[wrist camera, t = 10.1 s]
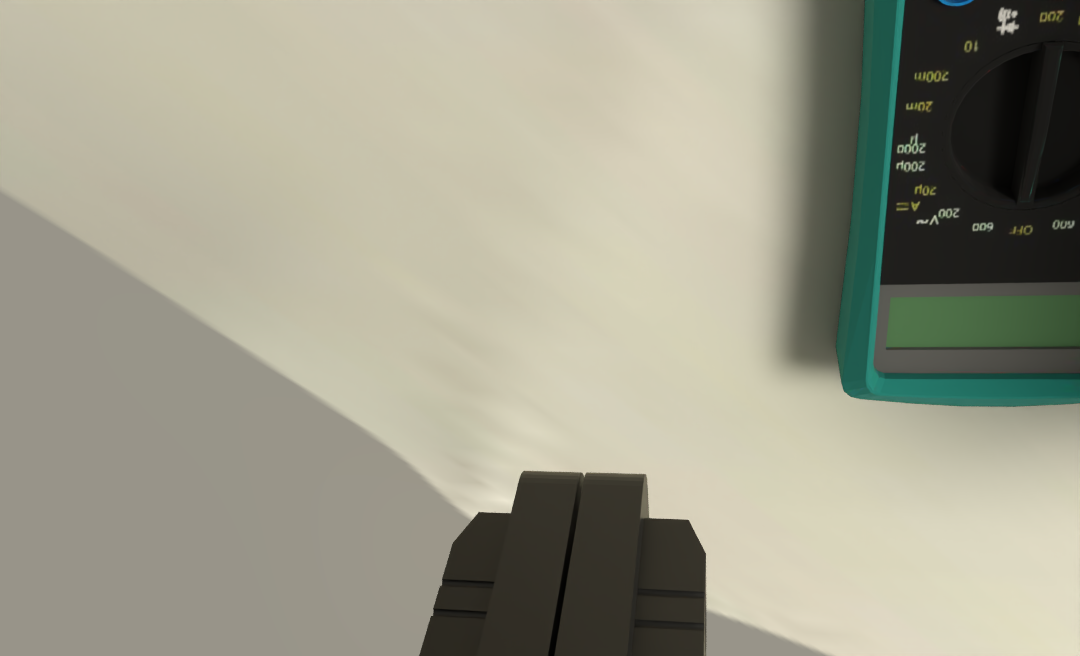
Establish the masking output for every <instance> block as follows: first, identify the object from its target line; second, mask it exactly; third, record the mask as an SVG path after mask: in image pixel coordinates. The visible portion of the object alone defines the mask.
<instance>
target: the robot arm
mask: <svg viewBox="0 0 1080 656" xmlns="http://www.w3.org/2000/svg"><path fill="white" fill-rule="evenodd" d="M433 609H434V613H433V616H431V618H430V622H429V625H428V628H427V632H426V635H425V639H424V642H423V645H422V648H421V652H420V655H419V656H706V553H705V551H704V549H703V547H702V545H701V543H700V541H699V539H698V538H697V536H696V534H695V532H694V530H693V528H692V526H691V524H690V522H689V520H679V519H652V518H649V507H648V487H647V477H646V474H619V473H586V474H585V477H584V475H583V473H576V472H543V471H523V472H522V474H521V476H520V479H519V483H518V487H517V491H516V495H515V499H514V503H513V507H512V512H511V513H485V512H479V513H478V514H477V515H476V516H475V517H474V519H473V520H472V521H471V522H470V523H469V525H468V526H467V527H466V528H465V529H464V531H463V532H462V533H461V534H460V535H459V536H458V538H457V539H456V540H455V541H454V542H453V544H452V548H451V551H450V554H449V558H448V561H447V565H446V568H445V572H444V575H443V578H442V586H440V588H439V591H438V595H437V598H436V602H435V605H434V608H433Z"/></svg>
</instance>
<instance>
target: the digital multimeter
mask: <svg viewBox="0 0 1080 656" xmlns="http://www.w3.org/2000/svg"><path fill="white" fill-rule="evenodd" d="M904 7H905V11H904ZM903 19H904V22H903ZM902 31H903V33H902ZM1066 41H1072V42H1066ZM1074 42H1077V43H1074ZM901 43H902V45H901ZM900 54H901V56H900ZM899 66H900V67H899ZM898 78H899V79H898ZM954 99H955V100H954ZM953 101H954V102H953ZM952 103H953V104H952ZM946 116H947V117H946ZM942 133H943V136H942ZM942 148H943V150H942ZM946 165H947V166H946ZM952 177H953V178H952ZM962 189H963V190H962ZM1079 194H1080V0H865V9H864V35H863V61H862V87H861V104H860V116H859V128H858V140H857V153H856V165H855V177H854V189H853V201H852V214H851V224H850V232H849V240H848V249H847V257H846V265H845V274H844V282H843V290H842V299H841V307H840V315H839V324H838V332H837V340H836V351H837V357H838V364H839V370H840V376H841V382H842V386H843V390H844V392H846V393H847V394H848V395H849V396H851V397H854V398H859V399H867V400H879V401H890V402H902V403H915V404H932V405H949V406H1007V407H1015V406H1037V405H1058V404H1075V403H1080V195H1079ZM1077 195H1079V196H1077ZM1075 196H1076V197H1075ZM973 197H974V198H973ZM976 199H977V200H976ZM1064 201H1065V202H1064ZM1061 202H1063V203H1061ZM985 203H986V204H985ZM1059 203H1060V204H1059ZM988 204H989V205H988ZM1056 204H1057V205H1056ZM990 205H992V206H990ZM994 206H995V207H994ZM1043 207H1045V208H1043ZM1002 208H1004V209H1002ZM1038 208H1041V209H1038ZM1009 209H1012V210H1009ZM1031 209H1032V210H1031ZM882 259H883V260H882ZM881 270H882V271H881Z"/></svg>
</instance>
